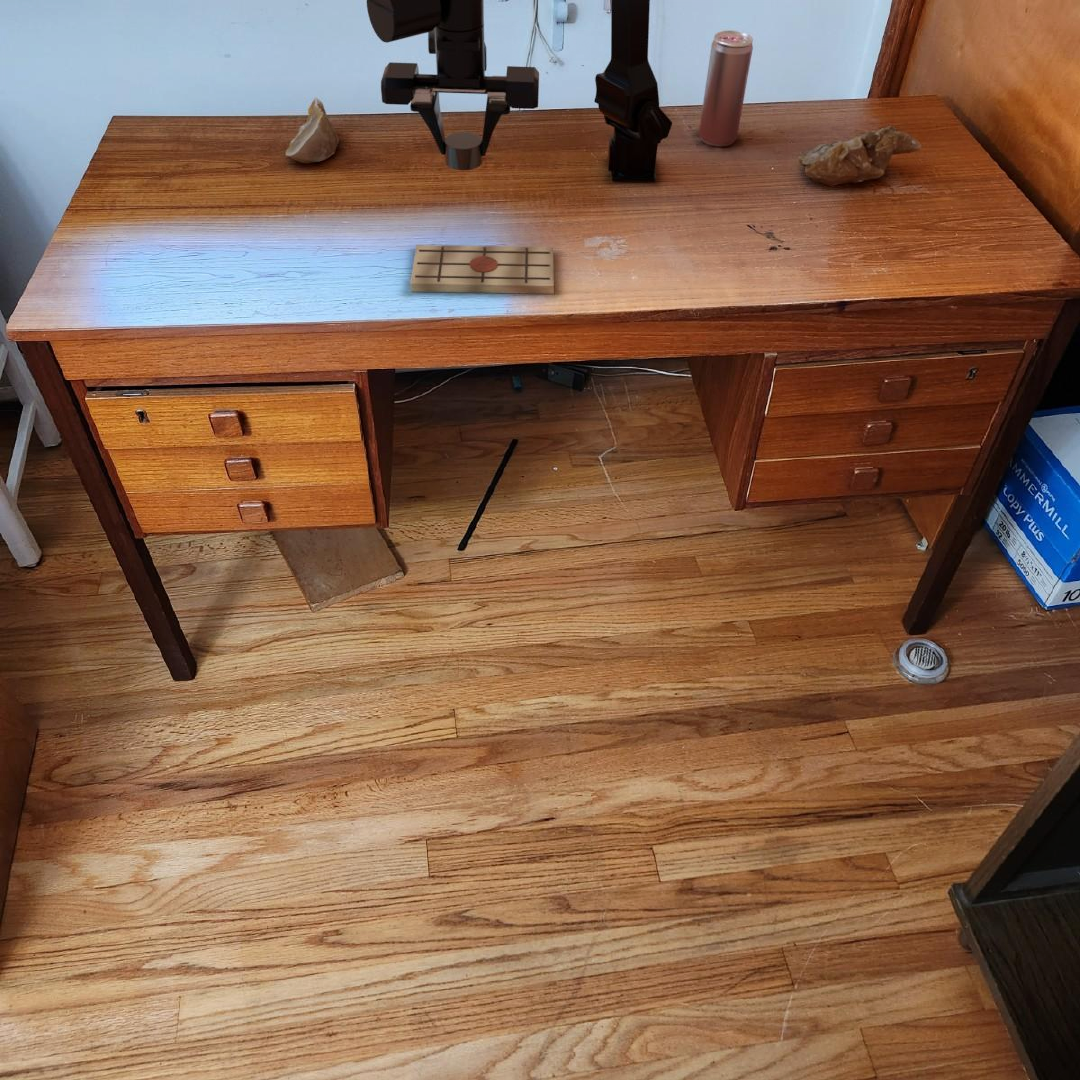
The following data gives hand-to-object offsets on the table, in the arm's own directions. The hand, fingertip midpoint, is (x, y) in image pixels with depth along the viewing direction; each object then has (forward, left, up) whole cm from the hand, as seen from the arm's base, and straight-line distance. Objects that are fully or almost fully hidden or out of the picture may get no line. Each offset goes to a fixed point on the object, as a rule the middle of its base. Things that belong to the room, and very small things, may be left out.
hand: (463, 154), depth 122 cm
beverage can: (-38, -29, -11) cm, 49 cm away
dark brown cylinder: (0, 0, -1) cm, 1 cm away
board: (-3, +9, -11) cm, 15 cm away
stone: (+24, -24, -11) cm, 36 cm away
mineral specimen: (-57, -18, -11) cm, 61 cm away
